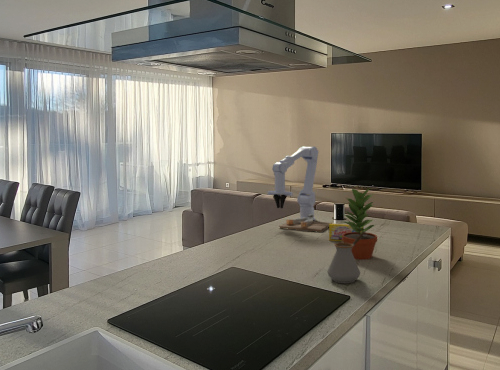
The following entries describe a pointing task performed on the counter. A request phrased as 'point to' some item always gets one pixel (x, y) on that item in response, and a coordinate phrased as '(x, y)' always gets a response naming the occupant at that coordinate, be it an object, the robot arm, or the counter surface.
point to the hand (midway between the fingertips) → (280, 208)
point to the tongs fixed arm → (307, 221)
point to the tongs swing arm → (296, 220)
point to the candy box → (338, 231)
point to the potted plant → (360, 227)
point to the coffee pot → (344, 263)
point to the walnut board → (312, 227)
